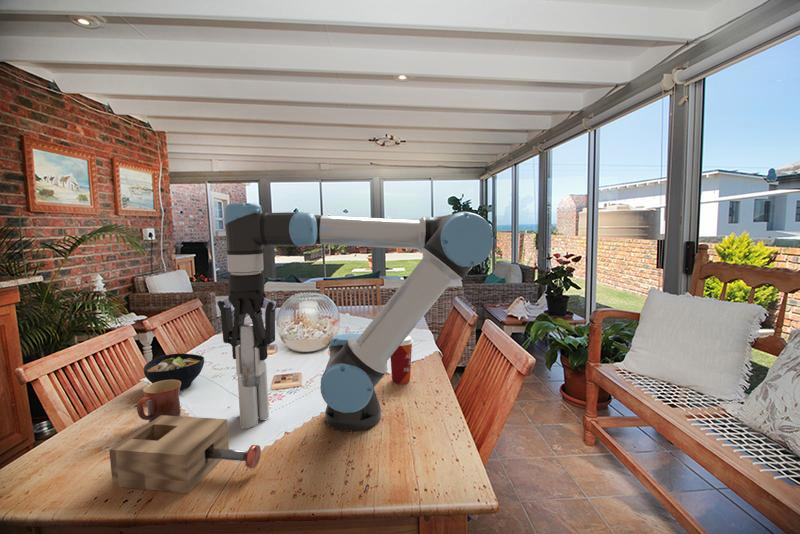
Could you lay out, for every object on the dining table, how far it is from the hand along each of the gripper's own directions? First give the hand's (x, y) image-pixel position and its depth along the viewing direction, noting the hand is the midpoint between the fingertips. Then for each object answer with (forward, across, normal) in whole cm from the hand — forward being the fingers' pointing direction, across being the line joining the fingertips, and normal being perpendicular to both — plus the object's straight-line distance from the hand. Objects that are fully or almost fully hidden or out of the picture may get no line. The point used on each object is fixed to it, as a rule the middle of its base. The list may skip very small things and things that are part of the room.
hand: (250, 372), depth 88 cm
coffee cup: (+19, -30, -43) cm, 56 cm away
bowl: (+19, +43, -30) cm, 56 cm away
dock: (+19, +14, +9) cm, 25 cm away
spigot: (+3, 0, 0) cm, 3 cm away
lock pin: (+17, +2, +9) cm, 19 cm away
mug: (+19, +30, -7) cm, 37 cm away
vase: (+19, +7, -14) cm, 25 cm away
